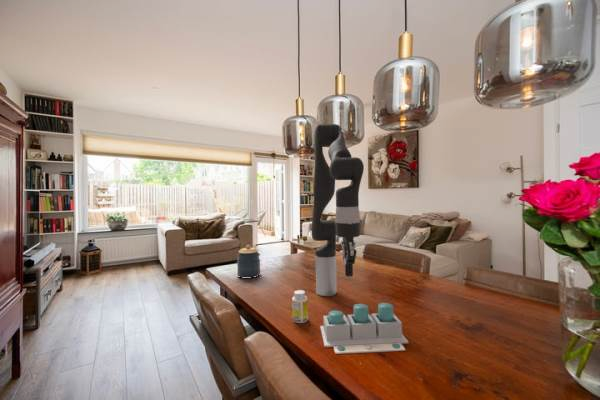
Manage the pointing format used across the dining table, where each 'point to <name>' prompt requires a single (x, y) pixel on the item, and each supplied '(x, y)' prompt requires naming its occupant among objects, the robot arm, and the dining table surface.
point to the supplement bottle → (300, 307)
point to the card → (368, 348)
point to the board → (362, 332)
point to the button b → (361, 313)
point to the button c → (385, 312)
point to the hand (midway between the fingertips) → (348, 275)
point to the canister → (248, 262)
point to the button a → (335, 317)
